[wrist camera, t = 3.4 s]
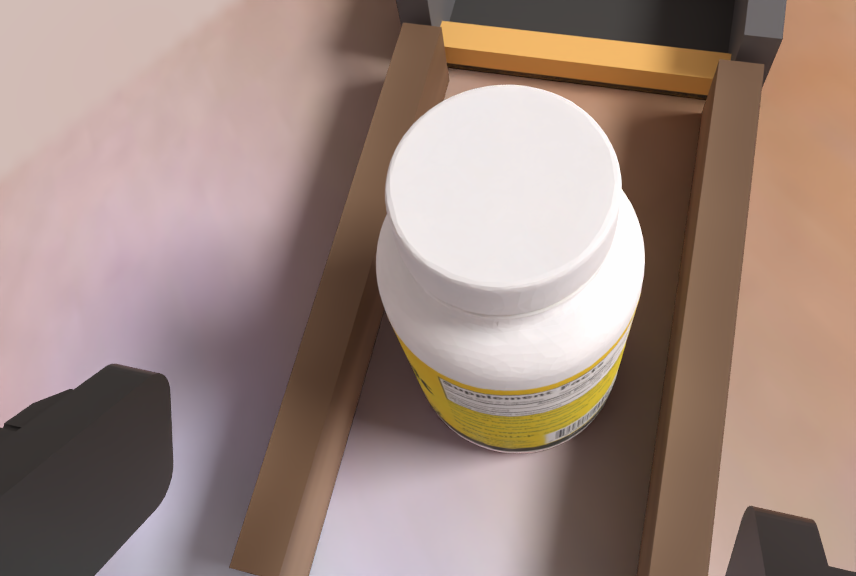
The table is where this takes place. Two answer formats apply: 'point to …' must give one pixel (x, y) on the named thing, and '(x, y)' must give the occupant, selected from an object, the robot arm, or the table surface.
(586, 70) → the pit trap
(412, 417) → the table surface
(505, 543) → the table surface
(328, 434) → the chute
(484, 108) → the supplement bottle
